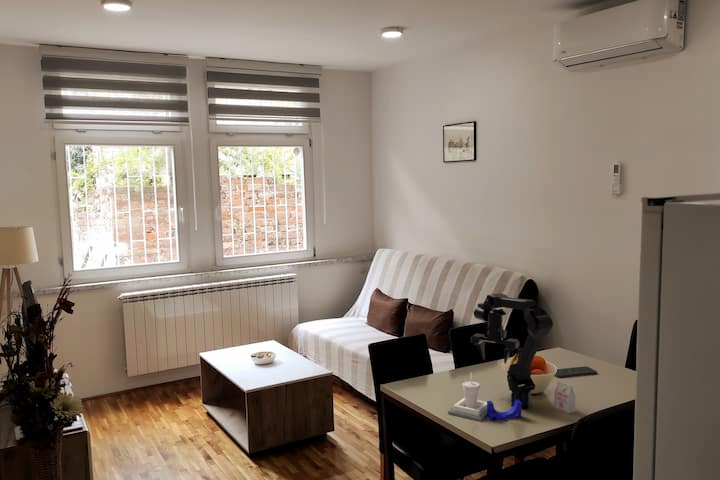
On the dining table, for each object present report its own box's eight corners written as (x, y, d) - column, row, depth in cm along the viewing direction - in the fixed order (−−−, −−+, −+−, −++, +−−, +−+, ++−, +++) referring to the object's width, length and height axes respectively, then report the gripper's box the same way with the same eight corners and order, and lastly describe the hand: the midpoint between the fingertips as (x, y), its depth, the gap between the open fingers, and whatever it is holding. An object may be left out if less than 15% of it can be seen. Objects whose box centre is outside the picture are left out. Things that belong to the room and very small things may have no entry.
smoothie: (480, 406, 227) (480, 370, 225) (478, 413, 220) (479, 376, 219) (463, 405, 228) (463, 369, 227) (461, 411, 222) (461, 375, 221)
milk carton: (561, 405, 230) (562, 380, 229) (574, 411, 224) (575, 386, 222) (554, 407, 228) (555, 382, 227) (567, 413, 222) (568, 387, 221)
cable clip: (490, 421, 216) (490, 405, 215) (486, 416, 220) (487, 400, 220) (522, 420, 217) (523, 404, 216) (518, 415, 221) (518, 399, 220)
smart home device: (547, 369, 268) (586, 365, 273) (547, 373, 268) (586, 369, 273) (558, 375, 260) (597, 371, 265) (558, 379, 260) (597, 375, 265)
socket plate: (494, 409, 226) (494, 402, 226) (480, 421, 215) (481, 413, 215) (462, 402, 233) (462, 395, 233) (448, 413, 222) (448, 406, 222)
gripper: (523, 323, 243) (523, 360, 244) (480, 317, 253) (480, 353, 254) (515, 329, 233) (514, 367, 235) (470, 322, 243) (470, 359, 245)
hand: (494, 361), depth 243 cm, fingers open, 9 cm apart
